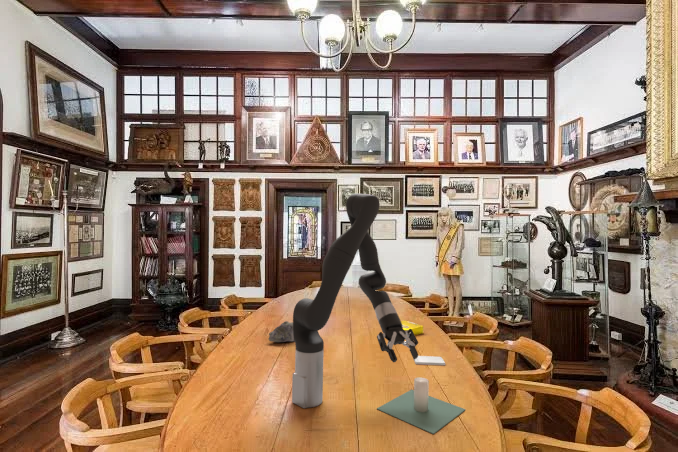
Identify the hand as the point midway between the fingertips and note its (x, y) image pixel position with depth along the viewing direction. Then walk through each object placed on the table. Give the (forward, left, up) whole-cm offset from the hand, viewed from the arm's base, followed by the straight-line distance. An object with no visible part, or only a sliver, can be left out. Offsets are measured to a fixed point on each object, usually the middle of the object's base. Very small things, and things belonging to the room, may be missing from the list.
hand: (405, 359), depth 126 cm
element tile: (+69, +46, -14) cm, 84 cm away
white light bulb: (-3, -8, -13) cm, 15 cm away
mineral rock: (+9, +78, -13) cm, 80 cm away
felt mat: (-3, -8, -13) cm, 16 cm away
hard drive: (+38, +13, -14) cm, 42 cm away
